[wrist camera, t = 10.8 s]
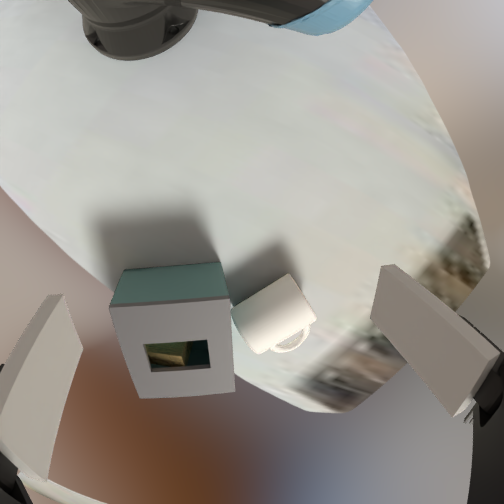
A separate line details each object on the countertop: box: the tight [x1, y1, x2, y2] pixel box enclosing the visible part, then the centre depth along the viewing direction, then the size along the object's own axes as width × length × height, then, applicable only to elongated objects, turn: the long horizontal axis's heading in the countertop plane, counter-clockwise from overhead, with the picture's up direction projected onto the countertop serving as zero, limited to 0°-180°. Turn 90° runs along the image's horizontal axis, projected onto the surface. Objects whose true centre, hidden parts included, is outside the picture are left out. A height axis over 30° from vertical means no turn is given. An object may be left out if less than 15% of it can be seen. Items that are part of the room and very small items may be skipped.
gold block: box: [145, 341, 193, 367], centre depth 39 cm, size 6×3×7 cm, turn 90°
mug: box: [231, 274, 317, 354], centre depth 43 cm, size 12×10×8 cm
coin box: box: [109, 262, 235, 398], centre depth 39 cm, size 16×14×10 cm
